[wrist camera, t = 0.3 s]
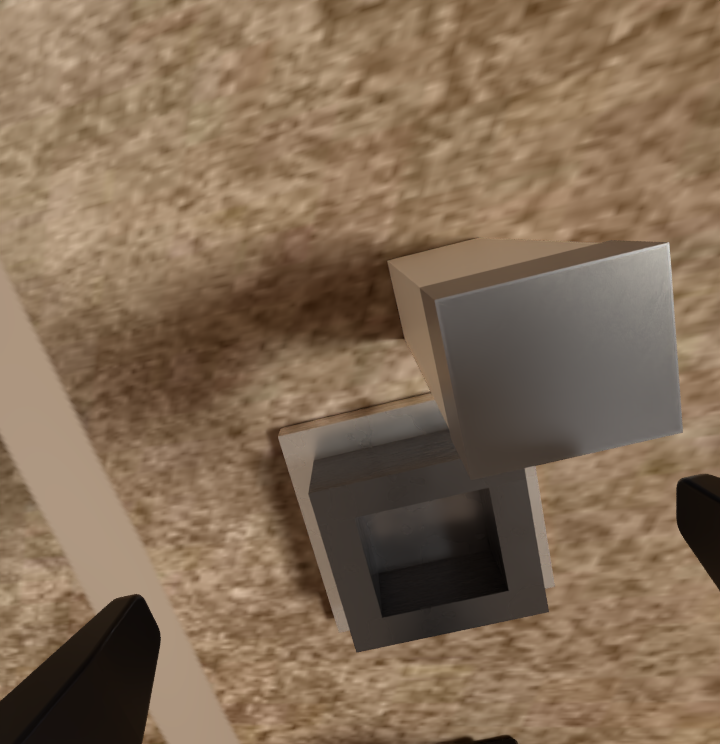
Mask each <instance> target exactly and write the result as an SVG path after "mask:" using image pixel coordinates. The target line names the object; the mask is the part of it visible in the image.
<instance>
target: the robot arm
mask: <svg viewBox="0 0 720 744" xmlns="http://www.w3.org/2000/svg"><path fill="white" fill-rule="evenodd" d="M676 519H677V525H678V528H679V531H680V533H681V534H682V536H683V538H684V539H685V541H686V542H687V544H688V545H689V547H690V548H691V549H692V551H693V552H694V554H695V555H696V557H697V558H698V560H699V561H700V563H701V564H702V566H703V567H704V569H705V570H706V571H707V573H708V574H709V576H710V577H711V579H712V580H713V582H714V583H715V585H716V586H717V588H718V589H719V591H720V478H719V477H716V476H713V475H709V474H699V475H694V476H689V477H685V478H682V479H680V480H679V481H678V483H677V488H676ZM160 641H161V637H160V631H159V628H158V625H157V623H156V621H155V619H154V617H153V615H152V613H151V611H150V609H149V607H148V605H147V603H146V601H145V600H144V598H143V597H142V596H141V595H139V594H134V595H129V596H124V597H120V598H116V599H114V600H113V601H111V602H110V603H109V604H108V605H107V606H106V607H105V608H104V609H102V610H101V611H100V612H99V613H98V614H97V615H96V616H95V617H94V618H92V619H91V620H90V621H89V622H88V623H87V624H86V625H85V626H83V627H82V628H81V629H80V630H79V631H78V632H77V633H76V634H75V635H73V636H72V637H71V638H70V639H69V640H68V641H67V642H66V643H65V644H63V645H62V646H61V647H60V648H59V649H58V650H57V651H56V652H55V653H53V654H52V655H51V656H50V657H49V658H48V659H47V660H46V661H44V662H43V663H42V664H41V665H40V666H39V667H38V668H37V669H36V670H34V671H33V672H32V673H31V674H30V675H29V676H28V677H27V678H26V679H24V680H23V681H22V682H21V683H20V684H19V685H18V686H17V687H15V688H14V689H13V690H12V691H11V692H10V693H9V694H8V695H7V696H5V697H4V698H3V699H2V700H1V701H0V744H142V741H143V736H144V731H145V726H146V721H147V715H148V710H149V704H150V698H151V693H152V687H153V682H154V677H155V671H156V665H157V660H158V654H159V649H160ZM484 744H518V742H517V741H516V740H515V739H504V740H499V741H494V742H489V743H484Z"/></svg>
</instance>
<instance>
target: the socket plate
mask: <svg viewBox="0 0 720 744" xmlns="http://www.w3.org/2000/svg"><path fill="white" fill-rule="evenodd" d="M278 439H279V442H280V445H281V448H282V452H283V455H284V458H285V461H286V464H287V468H288V471H289V474H290V477H291V480H292V484H293V487H294V490H295V493H296V496H297V500H298V503H299V506H300V509H301V512H302V516H303V519H304V522H305V525H306V528H307V532H308V535H309V538H310V541H311V544H312V548H313V551H314V554H315V557H316V560H317V564H318V567H319V570H320V573H321V576H322V580H323V583H324V586H325V589H326V592H327V596H328V599H329V602H330V605H331V608H332V612H333V615H334V618H335V621H336V624H337V628H338V631H339V633H340V632H344V631H349V630H350V633H351V636H352V639H353V642H354V646H355V649H356V652H361V651H366V650H371V649H376V648H380V647H385V646H390V645H395V644H399V643H404V642H409V641H414V640H418V639H423V638H428V637H433V636H437V635H442V634H447V633H452V632H456V631H461V630H466V629H470V628H475V627H480V626H485V625H489V624H494V623H499V622H504V621H508V620H513V619H518V618H523V617H527V616H532V615H537V614H542V613H546V612H549V610H548V604H547V598H546V592H545V589H546V588H551V587H555V584H554V578H553V572H552V565H551V559H550V553H549V547H548V541H547V535H546V528H545V522H544V516H543V510H542V504H541V498H540V491H539V485H538V479H537V473H536V467H535V466H532V467H528V468H523V469H519V470H515V471H510V472H506V473H501V474H497V475H492V476H488V477H484V478H479V479H475V480H471V479H470V477H469V475H468V473H467V471H466V469H465V467H464V465H463V463H462V461H461V458H460V456H459V454H458V452H457V450H456V448H455V446H454V444H453V442H452V440H451V436H450V431H449V428H448V426H447V424H446V422H445V420H444V418H443V416H442V414H441V412H440V410H439V408H438V406H437V403H436V401H435V399H434V397H433V395H432V393H428V394H424V395H419V396H415V397H411V398H407V399H402V400H398V401H394V402H390V403H385V404H381V405H377V406H373V407H368V408H364V409H360V410H356V411H352V412H347V413H343V414H339V415H335V416H330V417H326V418H322V419H318V420H313V421H309V422H305V423H301V424H296V425H292V426H288V427H284V428H281V429H280V432H279V435H278Z"/></svg>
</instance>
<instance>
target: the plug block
mask: <svg viewBox="0 0 720 744" xmlns="http://www.w3.org/2000/svg"><path fill="white" fill-rule="evenodd" d="M387 263H388V267H389V272H390V276H391V281H392V285H393V290H394V294H395V298H396V303H397V307H398V312H399V316H400V321H401V325H402V330H403V334H404V339H405V341H406V343H407V345H408V347H409V349H410V351H411V353H412V355H413V357H414V359H415V361H416V363H417V365H418V367H419V369H420V371H421V373H422V375H423V377H424V379H425V381H426V383H427V385H428V387H429V389H430V391H431V393H432V395H433V397H434V399H435V401H436V403H437V406H438V408H439V410H440V412H441V414H442V416H443V418H444V420H445V422H446V424H447V426H448V428H449V431H450V436H451V440H452V442H453V444H454V446H455V448H456V450H457V452H458V454H459V456H460V458H461V461H462V463H463V465H464V467H465V469H466V471H467V473H468V475H469V477H470V479H471V480H475V479H479V478H484V477H488V476H492V475H497V474H501V473H506V472H510V471H515V470H519V469H523V468H528V467H532V466H537V465H541V464H546V463H550V462H554V461H559V460H563V459H568V458H572V457H577V456H581V455H585V454H590V453H594V452H599V451H603V450H608V449H612V448H616V447H621V446H625V445H630V444H634V443H638V442H643V441H647V440H652V439H656V438H661V437H665V436H669V435H674V434H678V433H683V427H682V413H681V399H680V385H679V372H678V358H677V344H676V330H675V316H674V302H673V288H672V274H671V260H670V246H669V242H642V241H612V240H611V241H606V242H602V243H588V242H566V241H545V240H523V239H501V238H475V239H471V240H467V241H463V242H459V243H455V244H451V245H447V246H443V247H439V248H435V249H431V250H427V251H423V252H419V253H415V254H411V255H407V256H403V257H399V258H395V259H391V260H387Z"/></svg>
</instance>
